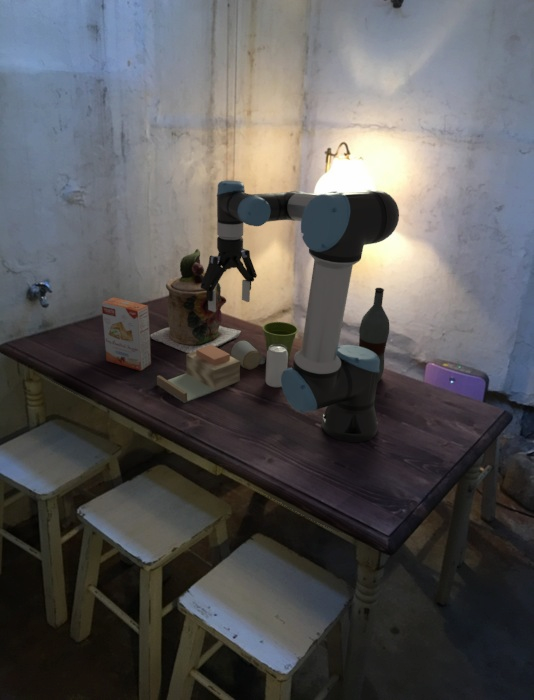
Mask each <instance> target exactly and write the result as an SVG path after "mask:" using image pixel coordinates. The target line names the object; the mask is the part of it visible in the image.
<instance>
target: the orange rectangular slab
mask: <svg viewBox="0 0 534 700" xmlns="http://www.w3.org/2000/svg"><path fill="white" fill-rule="evenodd" d="M196 356H198V357H200V358H202V359H203V360H205V361H207V362H209V363H211V364H212V365H214V366H215V365H218V364H221V363H223V362H226V361H229V360H230V356H231V353H228V352H226V351H225V350H222V349H220V348H218V347H215V346H213V345H209V346H206V347H203V348H200V349H197V350H196Z"/></svg>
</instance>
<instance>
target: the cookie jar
mask: <svg viewBox="0 0 534 700" xmlns="http://www.w3.org/2000/svg"><path fill="white" fill-rule="evenodd" d="M200 257H201V251H200V249H198V248H196V249H195V251H194V252H193V253H190V254H187V255H185V256H183V257H182V258H181V260H180V264H179V271H180V276H176V277H173V278H171V279H169V280H168V281H167V282H166V284H165V287H166V289H167V291H168V300H167V314H166V318H167V323H168V327H165V328H162V329H160V330H158V331H155V332H152V333H151V334H150V339H152V340H153V341H156V342H158V343H162V344H164V345H165V346H168V347H171V348H173V349H176V350H179V351H181V352H184V353H185V354H189V353H192V352H195V351H196V350H197V349H200V348H203V347H206V346H209V345H213V346H215V347H217V348H218V347H220V346H222V345H224V344H226V343H228V342H230V341H232V340H234V339H238V337H239V336H240V334H241V332H242V331H241V330H238V329H235V328H229V327H225V326H222V325H221V324H223V318H222V310H221V309H222V307H223V305H224V304H226V303H227V298H225V296H222V295H221V293H222V292H221V291H222V290H221V289H222V288H221V284H220V283H219V282H218V283H217V285H216V287H215V288H214V290H216V312H213V311H210V310H208V300H207V291H206V290H205V289H202V288H201V284H202V281H203V278H204V275H205V273H206V271H205V268H204V266H203V264H201V259H200ZM224 306H225V305H224Z"/></svg>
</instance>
